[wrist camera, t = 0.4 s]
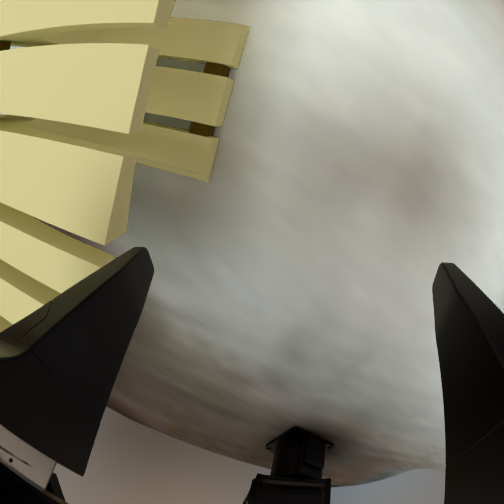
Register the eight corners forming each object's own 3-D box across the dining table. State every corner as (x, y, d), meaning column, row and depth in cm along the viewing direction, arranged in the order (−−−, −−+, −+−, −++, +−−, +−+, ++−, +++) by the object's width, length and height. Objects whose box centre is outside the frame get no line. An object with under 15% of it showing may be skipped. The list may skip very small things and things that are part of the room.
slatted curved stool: (116, -52, 18) (-15, -111, 2) (276, -55, 17) (210, -205, 1) (59, 222, 30) (-72, 299, 14) (190, 272, 29) (72, 419, 13)
